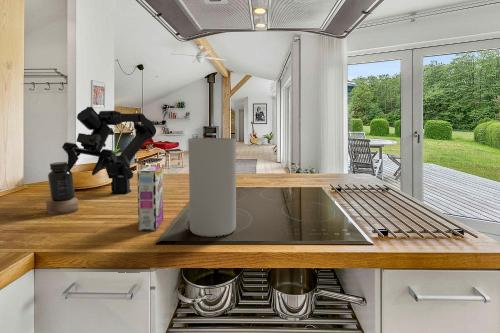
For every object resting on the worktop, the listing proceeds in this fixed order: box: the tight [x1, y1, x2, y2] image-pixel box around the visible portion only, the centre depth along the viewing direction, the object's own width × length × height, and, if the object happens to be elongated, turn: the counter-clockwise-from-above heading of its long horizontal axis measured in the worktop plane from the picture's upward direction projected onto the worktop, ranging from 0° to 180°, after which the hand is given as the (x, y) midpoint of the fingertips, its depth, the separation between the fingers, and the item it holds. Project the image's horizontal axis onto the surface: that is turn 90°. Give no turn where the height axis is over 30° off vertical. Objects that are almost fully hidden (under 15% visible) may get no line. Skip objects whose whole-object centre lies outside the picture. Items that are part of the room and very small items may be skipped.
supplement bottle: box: [47, 161, 76, 201], centre depth 103 cm, size 7×7×12 cm
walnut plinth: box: [45, 196, 79, 216], centre depth 104 cm, size 9×9×4 cm
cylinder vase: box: [187, 137, 237, 238], centre depth 85 cm, size 12×12×25 cm
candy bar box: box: [136, 166, 164, 232], centre depth 89 cm, size 11×5×16 cm, turn 5°
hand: (80, 172), depth 113 cm, fingers open, 9 cm apart
